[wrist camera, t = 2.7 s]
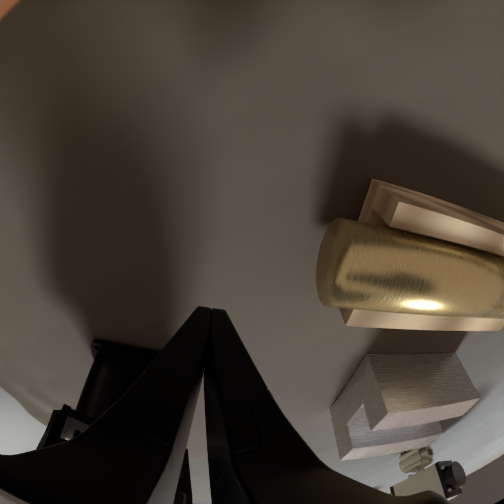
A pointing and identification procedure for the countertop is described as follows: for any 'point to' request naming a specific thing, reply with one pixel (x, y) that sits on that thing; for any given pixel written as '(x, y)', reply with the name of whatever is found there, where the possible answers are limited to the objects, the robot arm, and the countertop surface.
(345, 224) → the axle
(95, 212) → the countertop surface
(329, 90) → the countertop surface
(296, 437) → the robot arm
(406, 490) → the pneumatic valve
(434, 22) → the countertop surface
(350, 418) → the cradle
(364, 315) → the beam
